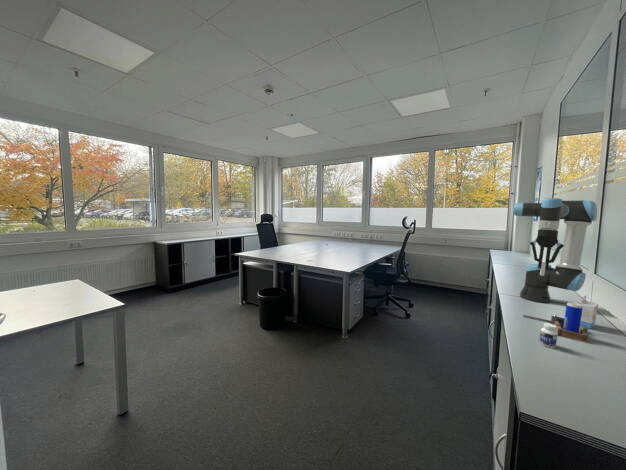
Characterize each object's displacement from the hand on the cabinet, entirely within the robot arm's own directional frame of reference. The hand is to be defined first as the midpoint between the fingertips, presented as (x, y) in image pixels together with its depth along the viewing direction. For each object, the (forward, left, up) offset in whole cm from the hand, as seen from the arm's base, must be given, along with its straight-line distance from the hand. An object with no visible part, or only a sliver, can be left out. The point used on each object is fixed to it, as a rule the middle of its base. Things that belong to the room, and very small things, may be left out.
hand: (541, 275), depth 131 cm
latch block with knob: (0, +10, -24) cm, 27 cm away
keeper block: (+6, +7, -24) cm, 26 cm away
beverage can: (+10, +12, -25) cm, 29 cm away
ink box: (-11, +20, -25) cm, 33 cm away
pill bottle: (+29, +2, -25) cm, 38 cm away
